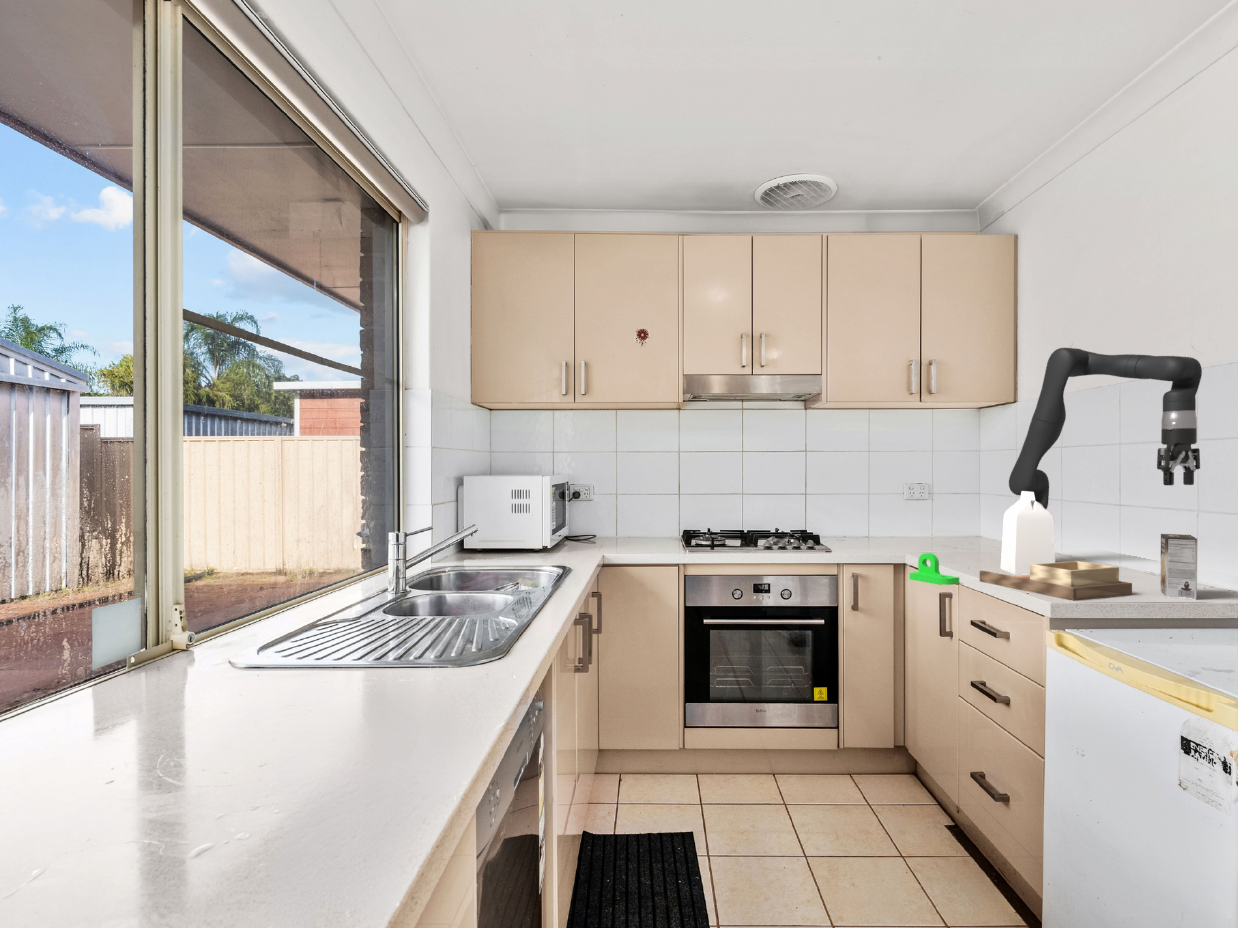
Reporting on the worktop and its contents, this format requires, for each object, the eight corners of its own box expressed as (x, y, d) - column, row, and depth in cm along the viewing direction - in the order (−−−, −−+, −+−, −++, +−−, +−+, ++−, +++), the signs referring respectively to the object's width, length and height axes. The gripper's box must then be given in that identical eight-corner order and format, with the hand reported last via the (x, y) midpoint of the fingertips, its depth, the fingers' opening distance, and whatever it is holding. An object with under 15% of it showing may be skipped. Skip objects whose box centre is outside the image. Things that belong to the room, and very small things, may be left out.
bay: (979, 581, 191) (979, 570, 191) (1033, 576, 198) (1033, 566, 198) (1073, 600, 164) (1073, 588, 164) (1132, 594, 171) (1132, 583, 171)
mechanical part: (909, 579, 195) (909, 553, 195) (922, 577, 198) (922, 551, 198) (946, 586, 184) (946, 558, 184) (959, 584, 187) (959, 556, 187)
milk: (1000, 568, 213) (1000, 490, 213) (1038, 569, 211) (1039, 490, 211) (1014, 574, 202) (1015, 492, 202) (1055, 576, 199) (1056, 492, 199)
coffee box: (1159, 591, 175) (1159, 533, 175) (1190, 594, 172) (1190, 534, 172) (1165, 597, 168) (1166, 536, 168) (1198, 600, 164) (1198, 538, 164)
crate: (1029, 585, 178) (1030, 564, 178) (1076, 582, 183) (1076, 561, 183) (1071, 594, 167) (1071, 571, 167) (1118, 589, 173) (1119, 567, 173)
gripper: (1180, 428, 186) (1179, 484, 186) (1146, 427, 181) (1146, 485, 182) (1211, 427, 179) (1210, 485, 179) (1177, 426, 174) (1177, 486, 174)
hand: (1178, 485), depth 180 cm, fingers open, 8 cm apart
